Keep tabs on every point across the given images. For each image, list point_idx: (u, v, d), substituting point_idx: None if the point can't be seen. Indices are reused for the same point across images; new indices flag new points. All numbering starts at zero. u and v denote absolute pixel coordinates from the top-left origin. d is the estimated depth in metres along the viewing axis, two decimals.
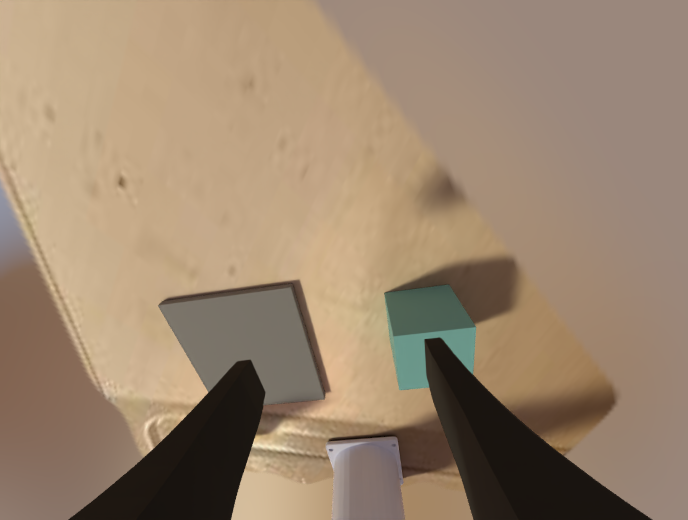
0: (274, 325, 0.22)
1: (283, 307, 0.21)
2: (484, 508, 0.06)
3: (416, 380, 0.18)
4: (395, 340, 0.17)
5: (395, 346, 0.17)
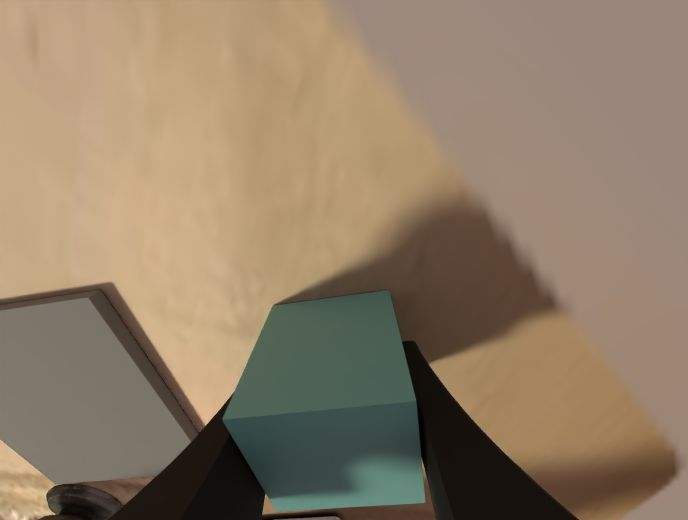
0: (87, 363, 0.12)
1: (90, 333, 0.11)
2: (440, 510, 0.06)
3: (305, 497, 0.09)
4: (230, 427, 0.07)
5: (236, 438, 0.07)
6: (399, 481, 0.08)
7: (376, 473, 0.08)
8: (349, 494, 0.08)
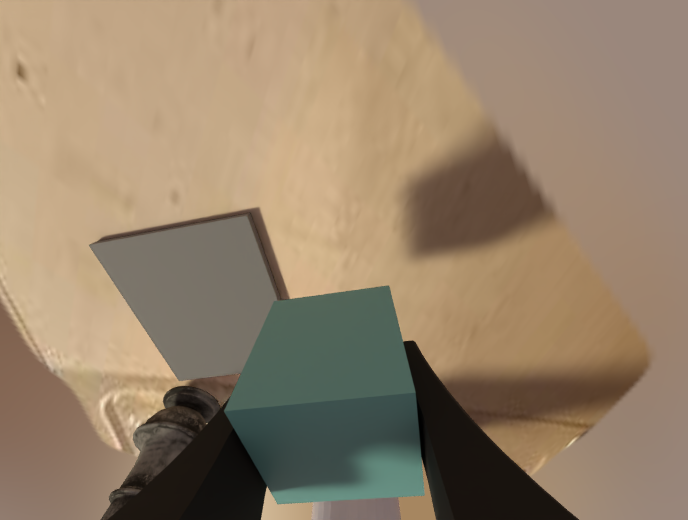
0: (232, 269, 0.18)
1: (241, 244, 0.17)
2: (440, 510, 0.06)
3: (306, 489, 0.09)
4: (232, 419, 0.07)
5: (238, 430, 0.07)
6: (398, 473, 0.08)
7: (376, 466, 0.08)
8: (349, 486, 0.08)
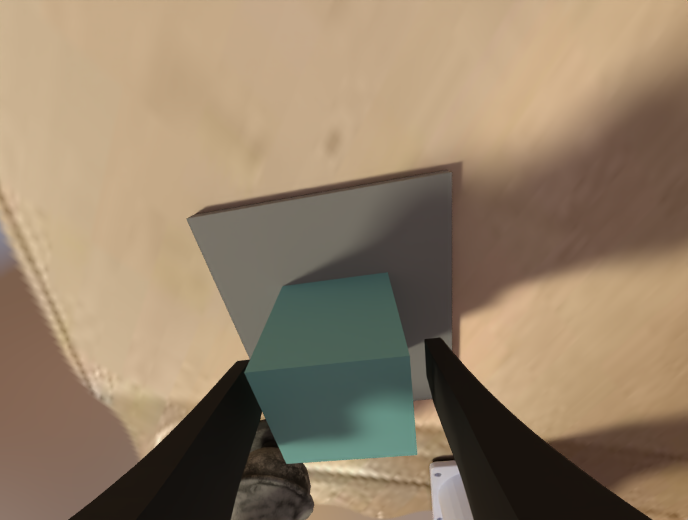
0: (399, 258, 0.12)
1: (426, 219, 0.11)
2: (484, 508, 0.06)
3: (312, 449, 0.10)
4: (250, 380, 0.08)
5: (255, 391, 0.08)
6: (394, 433, 0.09)
7: (375, 425, 0.09)
8: (350, 446, 0.10)
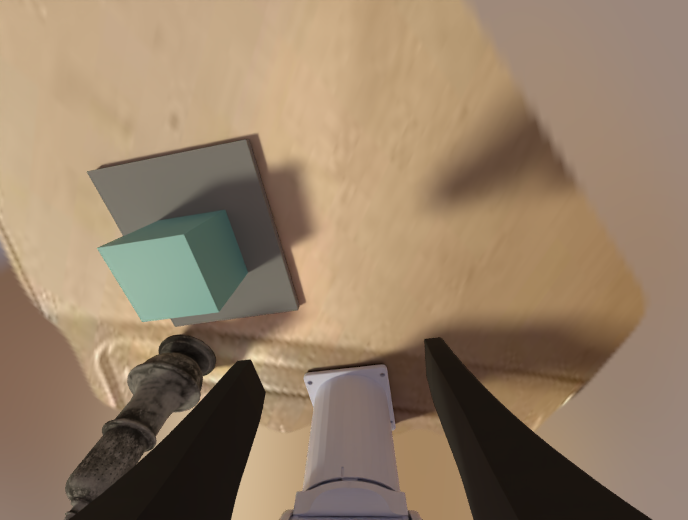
0: (230, 199, 0.18)
1: (239, 171, 0.17)
2: (484, 508, 0.06)
3: (154, 308, 0.16)
4: (102, 253, 0.14)
5: (107, 262, 0.14)
6: (198, 294, 0.15)
7: (184, 288, 0.15)
8: (176, 305, 0.16)
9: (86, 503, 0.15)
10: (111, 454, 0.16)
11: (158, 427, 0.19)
